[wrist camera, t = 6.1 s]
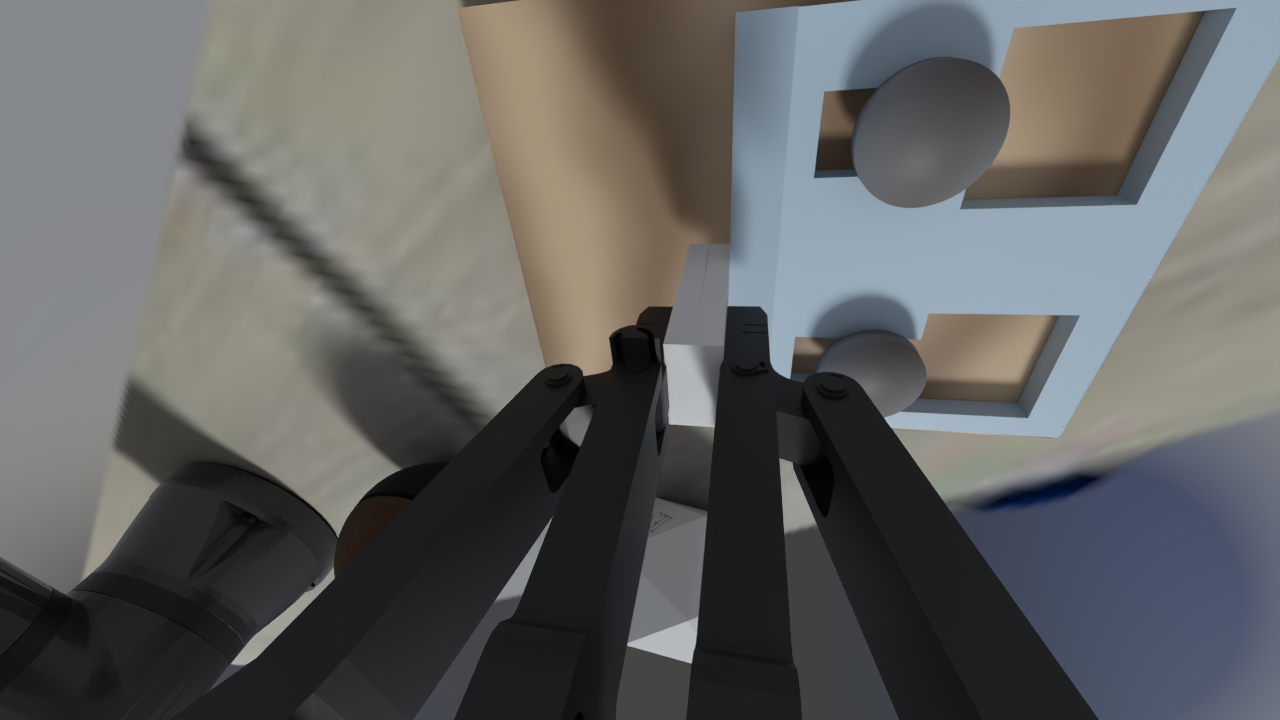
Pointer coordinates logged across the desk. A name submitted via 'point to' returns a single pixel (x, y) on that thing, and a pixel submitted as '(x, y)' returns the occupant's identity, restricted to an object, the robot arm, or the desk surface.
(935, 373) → the board
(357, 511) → the toy
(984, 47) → the panel
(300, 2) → the desk surface
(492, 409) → the desk surface
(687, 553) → the die
